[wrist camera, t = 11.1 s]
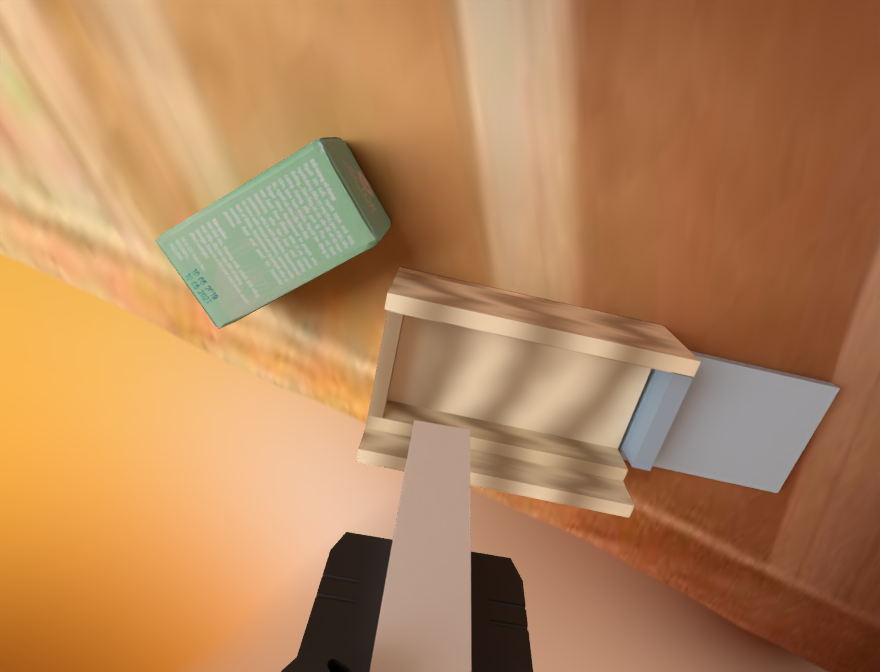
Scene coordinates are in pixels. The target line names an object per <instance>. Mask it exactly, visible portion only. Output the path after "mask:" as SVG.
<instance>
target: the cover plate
mask: <svg viewBox="0 0 880 672" xmlns="http://www.w3.org/2000/svg"><path fill="white" fill-rule="evenodd" d="M690 352H691V353H692V354H693V355H694V356H696V357H697V358H698V359H699V360H700V361H701V363H700V365H699V367H698V369H697V372H696V374H695V376H694V377H692V376H687V375H683V374H678V373H674V372H671V373H669V372H664V371H660V370H655V369H651V371H650V374H649V376H648V379H647V381H646V383H645V386H644V388H643V390H642V393H641V395H640V397H639V400H638V402H637V405H636V407H635V409H634V412H633V414H632V416H631V419H630V421H629V424H628V426H627V428H626V431H625V433H624V435H623V438H622V440H621V442H620V445H619V447H618V450H619V452H620V454H621V456H622V458H623V460H626V461H629V463H630V465H631V467H634V468H638V469H643V470H647V471H650V470H651V468H652V466H654V467H659V468H663V469H668V470H672V471H677V472H682V473H686V474H691V475H696V476H700V477H705V478H710V479H714V480H719V481H724V482H728V483H733V484H737V485H742V486H747V487H751V488H756V489H761V490H765V491H770V492H775V493H778V492H779V490H780V489H781V487H782V485H783V484H784V482H785V480H786V479H787V477H788V475H789V473H790V472H791V470H792V468H793V467H794V465H795V463H796V462H797V460H798V458H799V457H800V455H801V453H802V452H803V450H804V448H805V447H806V445H807V443H808V442H809V440H810V438H811V436H812V435H813V433H814V431H815V430H816V428H817V426H818V425H819V423H820V421H821V420H822V418H823V416H824V415H825V413H826V411H827V410H828V408H829V406H830V405H831V403H832V401H833V400H834V398H835V396H836V394H837V393H838V391H839V389H840V388H839V387H837V386H836V385H834V384H833V383H830V382H826V381H821V380H817V379H812V378H808V377H804V376H799V375H795V374H790V373H786V372H781V371H777V370H773V369H768V368H764V367H759V366H755V365H751V364H746V363H742V362H737V361H733V360H729V359H724V358H720V357H715V356H711V355H706V354H702V353H698V352H693V351H690Z"/></svg>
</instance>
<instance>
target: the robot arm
mask: <svg viewBox="0 0 880 672" xmlns="http://www.w3.org/2000/svg"><path fill="white" fill-rule="evenodd" d="M470 510H471V504H470V430H469V429H463V428H457V427H451V426H446V425H440V424H434V423H428V422H423V421H417V420H414V423H413V429H412V434H411V440H410V445H409V451H408V456H407V462H406V468H405V473H404V479H403V484H402V490H401V496H400V501H399V507H398V512H397V518H396V524H395V529H394V535H393V540H390V539H384V538H379V537H372V536H367V535H361V534H355V533H349V532H346V533H345V534H344V535H343V537H342V538H341V539H340V540H339V541H338V542H337V543H336V544H335V546H334V547H333V548H332V549H331V551H330V554H329V557H328V560H327V563H326V567H325V569H324V573H323V577H322V579H321V582H320V585H319V589H318V592H317V596H316V598H315V601H314V605H313V608H312V611H311V614H310V617H309V621H308V624H307V627H306V630H305V633H304V636H303V639H302V643H301V646H300V649H299V652H298V656H297V658H295V659H294V660H293V661H292V662H291V663H290V664H289V665H288V666H287V667H286V668H284V669H283V670H282V671H281V672H533V668H532V658H531V650H530V641H529V632H528V631H527V626H528V625H527V615H526V610H525V598H524V589H523V581H522V579H521V577H520V575H519V573H518V571H517V569H516V568H515V566H514V564H513V562H512V560H511V558H506V557H499V556H494V555H488V554H482V553H476V552H471V517H470V515H471V513H470V512H471V511H470Z"/></svg>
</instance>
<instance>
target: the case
mask: <svg viewBox="0 0 880 672" xmlns="http://www.w3.org/2000/svg"><path fill="white" fill-rule="evenodd" d="M385 309H386V310H388V311H387V316H386V322H385V327H384V332H383V338H382V343H381V348H380V354H379V359H378V364H377V370H376V375H375V380H374V386H373V391H372V396H371V402H370V407H369V412H368V418H367V423H366V428H365V431H364V434H363V437H362V440H361V443H360V446H359V450H358V455H357V460H356V461H357V462H361V463H365V464H370V465H375V466H380V467H385V468H390V469H395V470H399V471H404V472H405V468H406V462H407V456H408V451H409V445H410V440H411V434H412V429H413V423H414V420H417V421H423V422H428V423H434V424H440V425H446V426H451V427H457V428H463V429H469V430H470V485H472V486H477V487H482V488H487V489H492V490H497V491H501V492H506V493H511V494H516V495H521V496H526V497H531V498H536V499H540V500H545V501H550V502H555V503H560V504H565V505H570V506H574V507H579V508H584V509H589V510H594V511H599V512H604V513H609V514H613V515H618V516H623V517H628V518H629V517H630V515H631V512H632V510H633V508H634V504H633V502H632V500H631V497H630V495H629V493H628V491H627V489H626V487H625V484H624V482H623V481H624V478H625V476H626V474H627V471H628V468H627V466H626V464H625V462H624V460H623V458H622V456H621V454H620V452H619V450H618V447H619V445H620V442H621V440H622V438H623V435H624V433H625V431H626V428H627V426H628V424H629V421H630V419H631V416H632V414H633V412H634V409H635V407H636V405H637V402H638V400H639V397H640V395H641V393H642V390H643V388H644V386H645V383H646V381H647V379H648V376H649V374H650V371H651V369H655V370H660V371H664V372H669V373H671V372H674V373H678V374H683V375H687V376H692V377H694V376H695V374H696V372H697V369H698V367H699V365H700V363H701V361H700V360H699V359H698V358H697V357H696V356H694V355H693V354H692V353H691V352H690V351H689V350H688V349H687V348H686V347H685V346H684V345H683V344H682V343H681V342H680V341H679V340H678V339H677V338H676V337H675V336H674V335H673V334H672V333H671V332H669V331H668V330H667V329H666V328H665V327H664V326H663V325H658V324H654V323H650V322H645V321H641V320H636V319H632V318H627V317H623V316H618V315H614V314H609V313H605V312H600V311H596V310H591V309H587V308H582V307H578V306H573V305H569V304H564V303H560V302H555V301H551V300H546V299H542V298H537V297H533V296H528V295H524V294H519V293H515V292H510V291H506V290H501V289H497V288H492V287H488V286H483V285H479V284H474V283H470V282H465V281H461V280H456V279H452V278H447V277H443V276H438V275H434V274H429V273H425V272H420V271H416V270H411V269H407V268H402V267H399V269H398V271H397V274H396V276H395V278H394V280H393V282H392V284H391V286H390V288H389V290H388V293H387V298H386V303H385Z"/></svg>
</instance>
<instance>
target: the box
mask: <svg viewBox="0 0 880 672" xmlns="http://www.w3.org/2000/svg"><path fill="white" fill-rule="evenodd" d="M390 227H391V221H390V219H389V217H388V216H387V214H386V212H385V210H384V209H383V207H382V205H381V203H380V202H379V200H378V198H377V196H376V195H375V193H374V191H373V190H372V188H371V186H370V184H369V183H368V181H367V179H366V177H365V176H364V174H363V172H362V170H361V169H360V167H359V165H358V163H357V162H356V160H355V158H354V156H353V154H352V152H351V150H350V149H349V147H348V146H347V144H346V142H345V141H343V140H342V139H340V138H337V137H333V138H320V139H318V140H316V141H314V142H312V143H310V144H309V145H307V146H305V147H304V148H302V149H301V150H299V151H297V152H296V153H294V154H292V155H291V156H289V157H288V158H286V159H284V160H283V161H281V162H279V163H278V164H276V165H274V166H273V167H271V168H270V169H268V170H266V171H265V172H263V173H261V174H260V175H258V176H257V177H255V178H253V179H252V180H250V181H248V182H247V183H245V184H244V185H242V186H240V187H239V188H237V189H235V190H234V191H232V192H231V193H229V194H227V195H226V196H224V197H222V198H221V199H219V200H218V201H216V202H214V203H213V204H211V205H209V206H208V207H206V208H204V209H203V210H201V211H199V212H198V213H196V214H194V215H193V216H191V217H189V218H188V219H186V220H184V221H183V222H181V223H180V224H178V225H176V226H175V227H173V228H171V229H170V230H168V231H167V232H165V233H164V234H162V235H161V236H160V237H159V238H158V239H157V240H155V241H156V242H157V244H158V245H159V246H160V248H161V249H162V251H163V252H164V254H165V255H166V256H167V258H168V259H169V261H170V262H171V263H172V265H173V266H174V268H175V269H176V270H177V272H178V273H179V275H180V276H181V278H182V279H183V280H184V282H185V283H186V285H187V286H188V287H189V289H190V290H191V292H192V293H193V294H194V296H195V297H196V299H197V300H198V301H199V303H200V304H201V306H202V307H203V309H204V310H205V311H206V313H207V314H208V316H209V317H210V319H211V320H212V321H213V323H214V324H215V325H216V326H217V327H218V328H219V329H220V328H222V327H224V326H227V325H229V324H231V323H233V322H236V321H238V320H239V319H241V318H243V317H245V316H247V315H249V314H250V313H252V312H254V311H256V310H258V309H260V308H261V307H263V306H265V305H267V304H269V303H271V302H272V301H274V300H276V299H278V298H280V297H282V296H283V295H285V294H287V293H289V292H291V291H293V290H294V289H296V288H298V287H300V286H302V285H304V284H305V283H307V282H309V281H311V280H313V279H315V278H316V277H318V276H320V275H322V274H324V273H326V272H327V271H329V270H331V269H333V268H335V267H336V266H338V265H340V264H342V263H344V262H346V261H347V260H349V259H351V258H353V257H355V256H357V255H358V254H360V253H362V252H364V251H366V250H369V249H371V248H373V247H375V246H376V245H377V244H378V243H379V242H380V241H381V240H382V238H383V237H384V236H385V234H386V233H387V231H388V229H389V228H390Z"/></svg>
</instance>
